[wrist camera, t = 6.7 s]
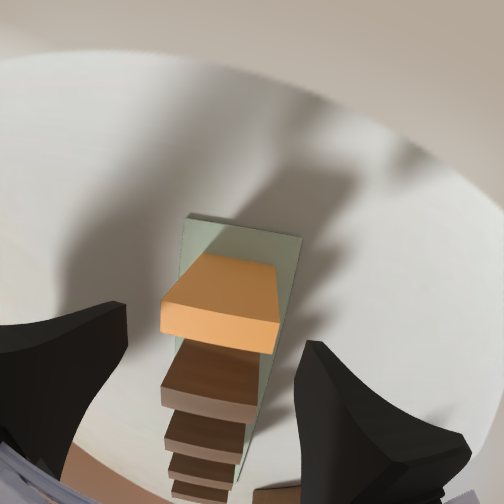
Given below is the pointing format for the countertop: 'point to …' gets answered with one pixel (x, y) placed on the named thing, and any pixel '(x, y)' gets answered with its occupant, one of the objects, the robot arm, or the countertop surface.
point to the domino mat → (251, 249)
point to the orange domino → (224, 304)
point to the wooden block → (277, 496)
